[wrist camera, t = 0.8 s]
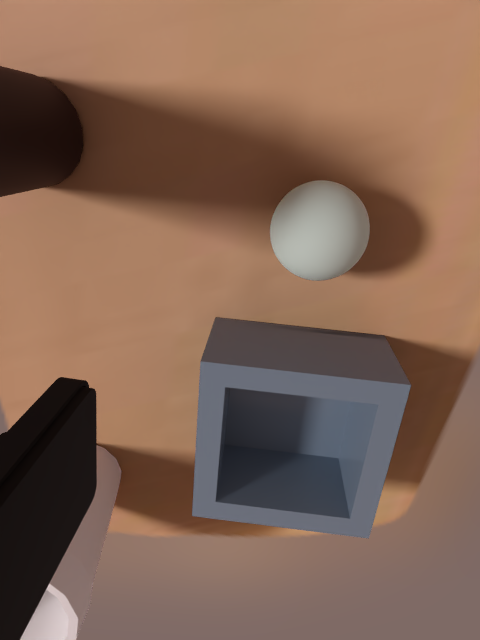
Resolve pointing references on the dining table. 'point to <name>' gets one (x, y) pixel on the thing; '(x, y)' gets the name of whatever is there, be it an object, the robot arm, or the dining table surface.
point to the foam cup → (78, 563)
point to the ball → (319, 230)
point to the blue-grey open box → (295, 426)
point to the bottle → (35, 133)
